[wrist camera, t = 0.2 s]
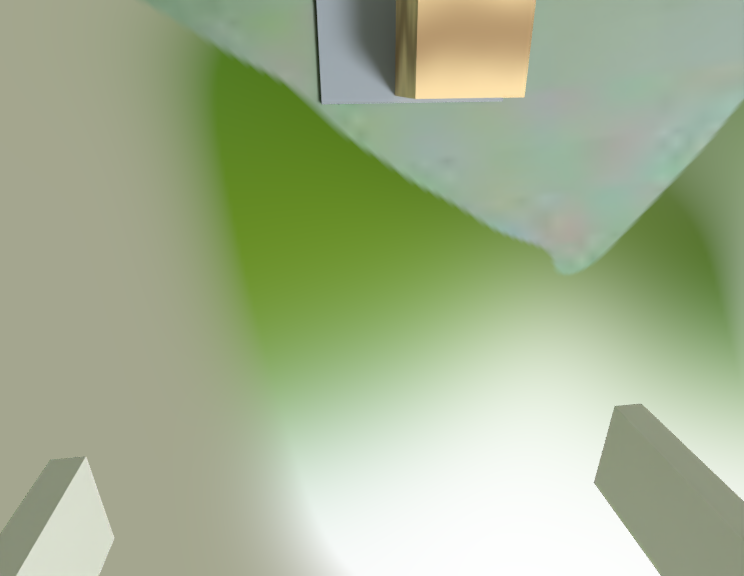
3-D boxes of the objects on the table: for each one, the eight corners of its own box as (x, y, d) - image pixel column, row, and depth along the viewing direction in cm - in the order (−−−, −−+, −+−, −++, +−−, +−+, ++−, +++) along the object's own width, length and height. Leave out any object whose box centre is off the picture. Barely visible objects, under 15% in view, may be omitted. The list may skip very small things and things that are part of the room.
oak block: (396, -15, 31) (419, -40, 25) (493, -14, 32) (540, -37, 26) (395, 95, 34) (415, 99, 28) (484, 94, 35) (524, 97, 29)
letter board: (315, -24, 31) (315, -25, 30) (512, -21, 32) (515, -22, 32) (321, 103, 34) (321, 104, 34) (500, 100, 36) (502, 101, 35)
